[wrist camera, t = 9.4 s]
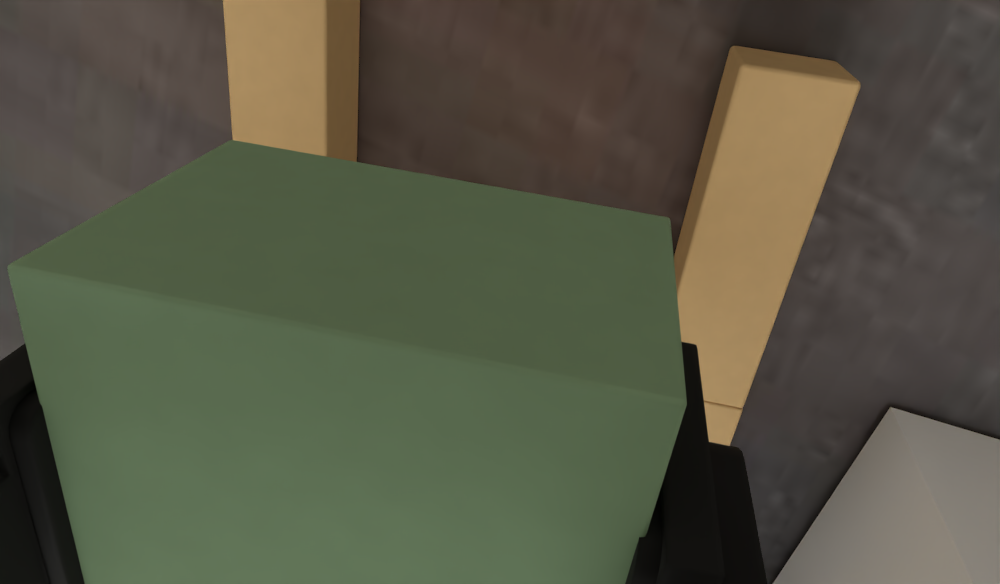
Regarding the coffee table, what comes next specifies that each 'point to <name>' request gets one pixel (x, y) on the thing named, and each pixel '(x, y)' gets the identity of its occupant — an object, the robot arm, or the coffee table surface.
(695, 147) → the coffee table surface
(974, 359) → the coffee table surface
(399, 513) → the green block
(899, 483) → the storage container
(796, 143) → the tan wooden frame
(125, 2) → the coffee table surface
